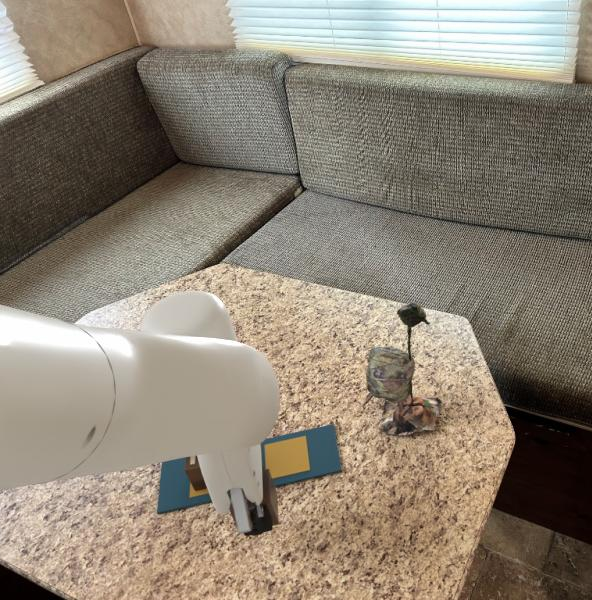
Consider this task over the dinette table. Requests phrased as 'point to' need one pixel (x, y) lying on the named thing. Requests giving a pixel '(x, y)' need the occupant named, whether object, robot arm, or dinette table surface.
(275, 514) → the tile
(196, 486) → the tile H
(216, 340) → the robot arm
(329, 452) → the word mat
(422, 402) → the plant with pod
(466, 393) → the dinette table surface
